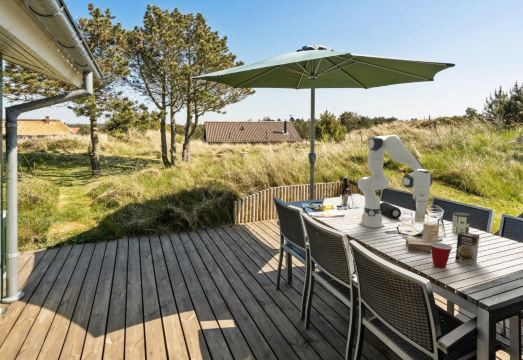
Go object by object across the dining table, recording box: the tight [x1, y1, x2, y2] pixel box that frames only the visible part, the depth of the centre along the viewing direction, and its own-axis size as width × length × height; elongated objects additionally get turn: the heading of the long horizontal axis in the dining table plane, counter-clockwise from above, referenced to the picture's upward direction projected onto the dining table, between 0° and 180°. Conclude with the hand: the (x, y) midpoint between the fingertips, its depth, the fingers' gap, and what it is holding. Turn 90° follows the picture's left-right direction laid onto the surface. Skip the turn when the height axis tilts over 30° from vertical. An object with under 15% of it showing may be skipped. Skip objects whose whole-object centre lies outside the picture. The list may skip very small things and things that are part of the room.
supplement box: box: [422, 222, 440, 243], centre depth 195 cm, size 8×5×13 cm, turn 105°
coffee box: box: [455, 232, 480, 267], centre depth 165 cm, size 9×6×16 cm
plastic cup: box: [430, 242, 454, 269], centre depth 161 cm, size 11×11×12 cm
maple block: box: [414, 210, 426, 224], centre depth 184 cm, size 5×5×6 cm
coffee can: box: [451, 211, 471, 235], centre depth 215 cm, size 10×10×14 cm
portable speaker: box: [380, 201, 402, 219], centre depth 265 cm, size 26×10×10 cm, turn 3°
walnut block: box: [405, 236, 432, 254], centre depth 187 cm, size 12×12×5 cm
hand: (419, 218), depth 184 cm, fingers closed on maple block, 5 cm apart
